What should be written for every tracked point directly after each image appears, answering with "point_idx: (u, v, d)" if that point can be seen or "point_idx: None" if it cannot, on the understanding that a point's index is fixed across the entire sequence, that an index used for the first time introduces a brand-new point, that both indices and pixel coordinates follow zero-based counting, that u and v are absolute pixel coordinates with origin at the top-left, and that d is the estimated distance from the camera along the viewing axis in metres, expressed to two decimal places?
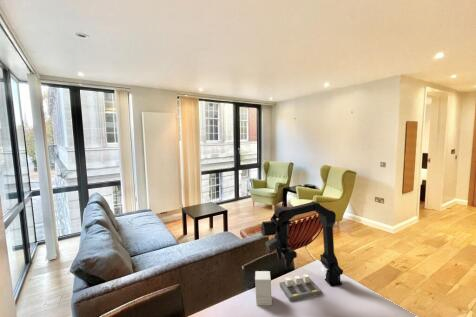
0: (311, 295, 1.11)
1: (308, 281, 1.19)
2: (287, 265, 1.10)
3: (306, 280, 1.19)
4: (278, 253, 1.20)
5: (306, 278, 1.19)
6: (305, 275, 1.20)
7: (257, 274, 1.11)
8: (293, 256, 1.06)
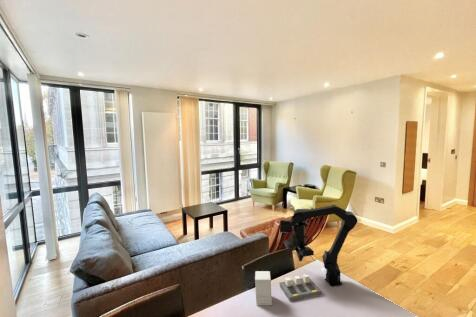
0: (311, 295, 1.11)
1: (308, 281, 1.19)
2: (300, 258, 1.25)
3: (306, 280, 1.19)
4: None
5: (306, 278, 1.19)
6: (305, 275, 1.20)
7: (257, 274, 1.11)
8: (310, 254, 1.16)
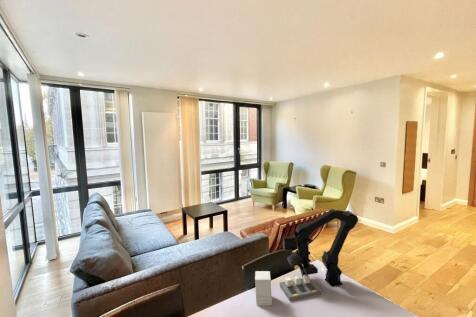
0: (311, 295, 1.11)
1: (308, 281, 1.19)
2: None
3: (306, 280, 1.18)
4: None
5: (306, 279, 1.18)
6: (305, 275, 1.20)
7: (257, 274, 1.11)
8: (314, 272, 1.13)
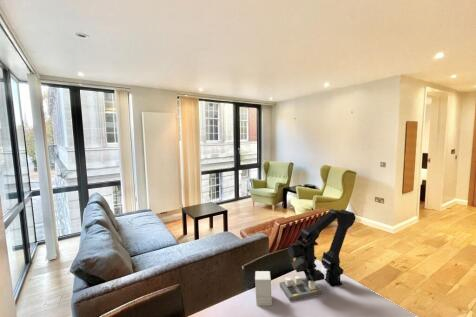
0: (311, 295, 1.11)
1: (314, 288, 1.14)
2: (309, 280, 1.16)
3: (312, 286, 1.13)
4: None
5: (311, 285, 1.13)
6: (311, 281, 1.15)
7: (257, 274, 1.11)
8: (321, 278, 1.08)
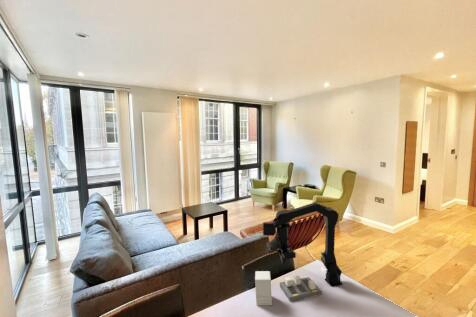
0: (311, 295, 1.11)
1: (314, 287, 1.14)
2: (283, 260, 1.22)
3: (312, 286, 1.13)
4: (282, 257, 1.23)
5: (311, 285, 1.13)
6: (311, 281, 1.15)
7: (257, 274, 1.11)
8: (292, 256, 1.14)
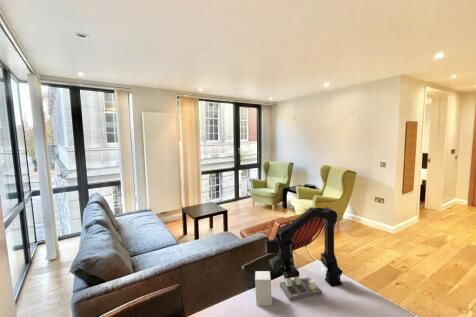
0: (311, 295, 1.11)
1: (314, 287, 1.14)
2: None
3: (312, 286, 1.13)
4: (285, 274, 1.21)
5: (311, 285, 1.13)
6: (311, 281, 1.15)
7: (257, 274, 1.11)
8: (296, 275, 1.11)
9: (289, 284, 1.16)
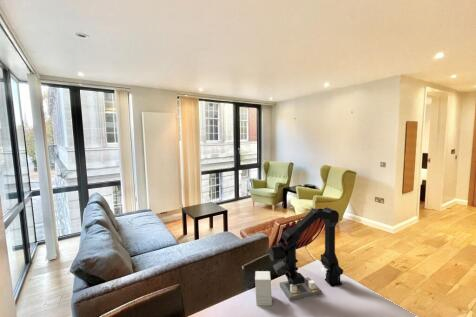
0: (311, 295, 1.11)
1: (314, 287, 1.14)
2: None
3: (312, 286, 1.13)
4: (289, 280, 1.15)
5: (311, 285, 1.13)
6: (311, 281, 1.15)
7: (257, 274, 1.11)
8: (301, 281, 1.06)
9: (294, 290, 1.11)
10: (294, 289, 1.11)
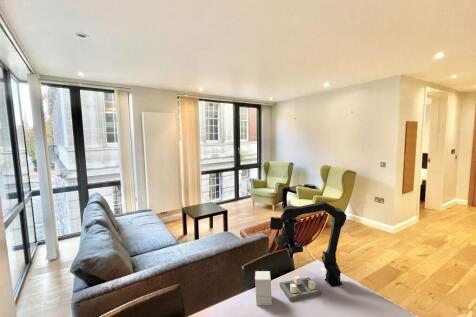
0: (311, 295, 1.11)
1: (314, 287, 1.14)
2: (290, 255, 1.25)
3: (312, 286, 1.13)
4: None
5: (311, 285, 1.13)
6: (311, 281, 1.15)
7: (257, 274, 1.11)
8: (300, 250, 1.16)
9: (294, 290, 1.11)
10: (294, 289, 1.11)
